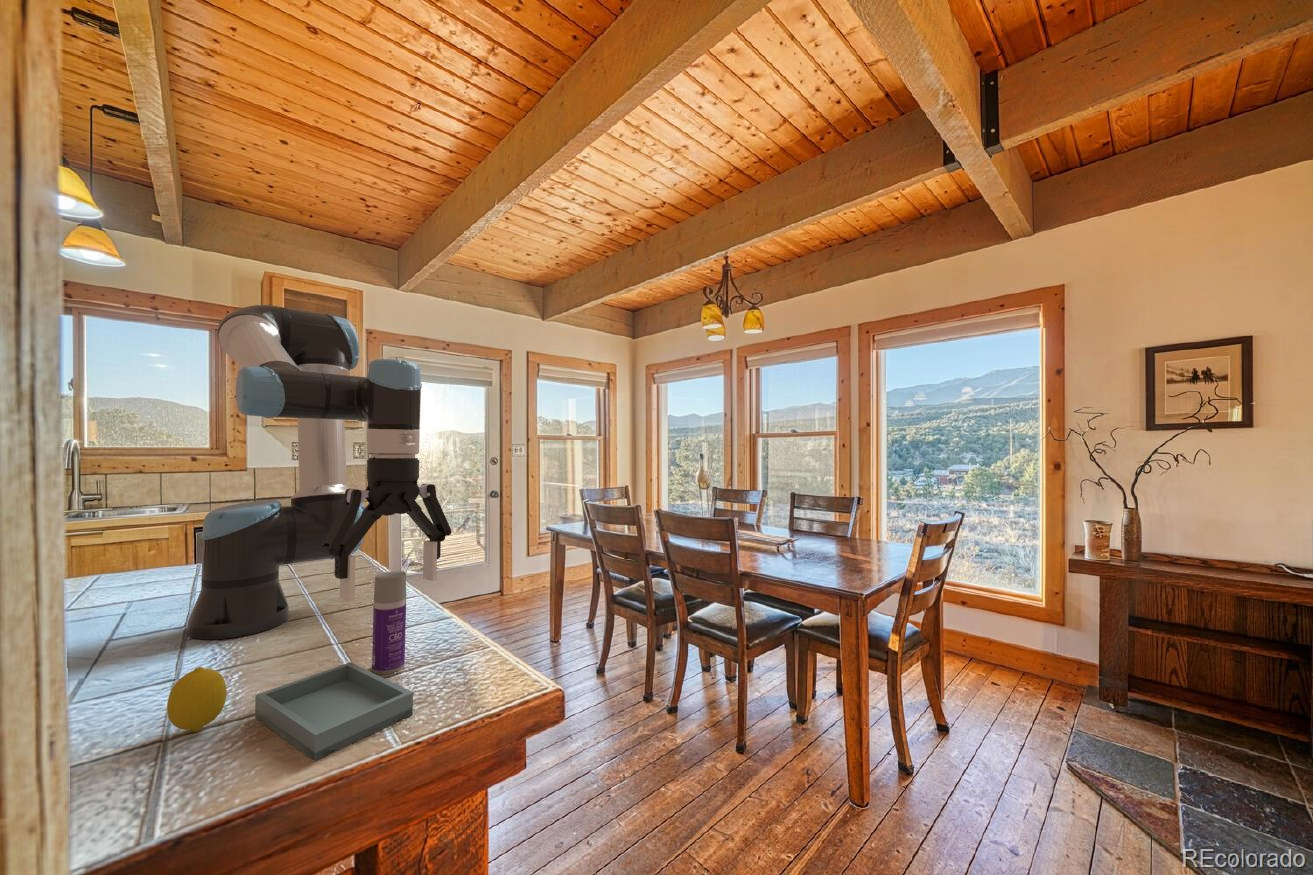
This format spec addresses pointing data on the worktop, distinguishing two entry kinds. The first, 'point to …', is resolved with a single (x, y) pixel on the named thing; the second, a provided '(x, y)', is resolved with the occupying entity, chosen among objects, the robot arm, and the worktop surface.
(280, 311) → the robot arm
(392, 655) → the container
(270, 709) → the tray
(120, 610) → the worktop surface
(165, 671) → the worktop surface
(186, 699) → the lemon
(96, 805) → the worktop surface
